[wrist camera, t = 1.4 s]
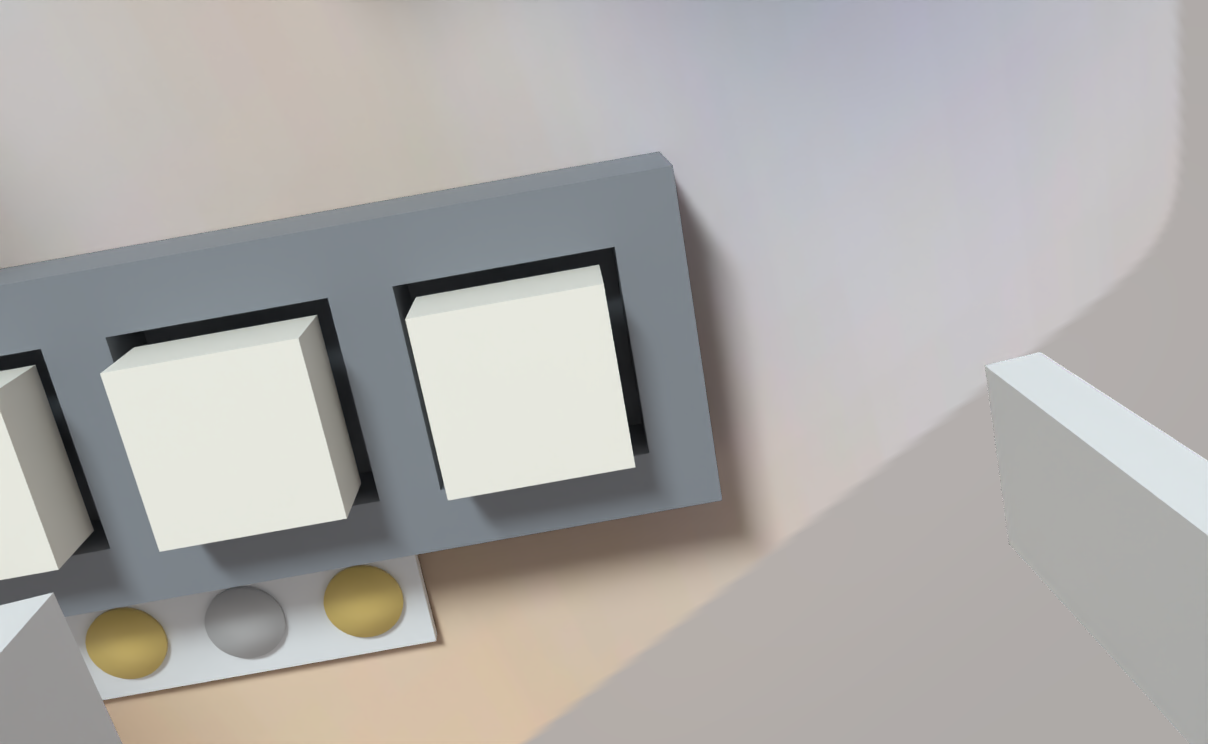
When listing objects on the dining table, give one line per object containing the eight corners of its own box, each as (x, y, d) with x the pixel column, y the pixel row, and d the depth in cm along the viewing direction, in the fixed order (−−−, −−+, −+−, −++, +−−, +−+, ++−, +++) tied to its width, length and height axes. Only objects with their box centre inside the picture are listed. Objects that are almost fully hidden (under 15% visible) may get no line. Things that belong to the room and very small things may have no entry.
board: (-73, 594, 35) (-138, 653, 32) (-194, 303, 32) (-279, 334, 29) (705, 455, 35) (722, 500, 32) (659, 151, 32) (672, 165, 29)
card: (92, 695, 37) (85, 706, 36) (54, 593, 35) (47, 603, 35) (437, 634, 37) (435, 644, 36) (411, 530, 35) (409, 538, 35)
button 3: (455, 466, 31) (447, 500, 29) (415, 297, 30) (405, 318, 28) (628, 435, 31) (635, 467, 29) (598, 264, 30) (603, 284, 28)
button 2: (187, 513, 31) (159, 551, 29) (134, 347, 30) (99, 373, 28) (361, 483, 31) (346, 518, 29) (317, 314, 30) (298, 338, 28)
